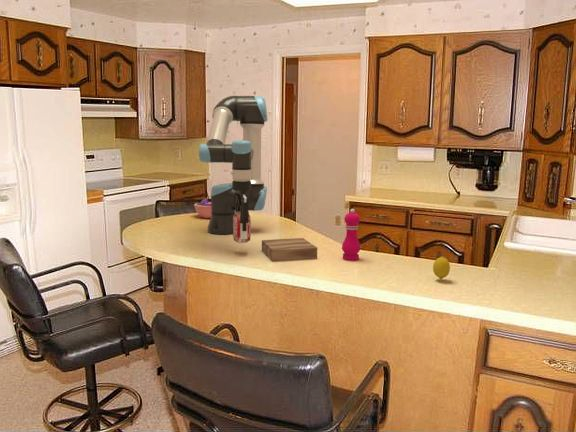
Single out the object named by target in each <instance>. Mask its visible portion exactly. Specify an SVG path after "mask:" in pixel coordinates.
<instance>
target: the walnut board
mask: <svg viewBox="0 0 576 432" xmlns="http://www.w3.org/2000/svg"><path fill="white" fill-rule="evenodd" d="M261 251H262V253H263V254H264V255H265V256H266V257H267V258H269V260H271V262H274V263H276V262H288V261H289V262H291V261H304V260H305V261H306V260H318V247H317V246H316V245H314V244H313V243H311V242H310V241H308V240H307V239H306V238H304V237H292V238H278V239H277V238H275V239H274V238H273V239H262V240H261Z"/></svg>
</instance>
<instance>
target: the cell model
mask: <svg viewBox="0 0 576 432" xmlns="http://www.w3.org/2000/svg"><path fill="white" fill-rule="evenodd" d="M193 207H194V208H195V212H196V213H197V214H198V215H199V217H200V218H203V219H208V220H210V218H211V201H209V200H208V199H207V198H204V199H202V200H201V202H196V203H194V205H193Z"/></svg>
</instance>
